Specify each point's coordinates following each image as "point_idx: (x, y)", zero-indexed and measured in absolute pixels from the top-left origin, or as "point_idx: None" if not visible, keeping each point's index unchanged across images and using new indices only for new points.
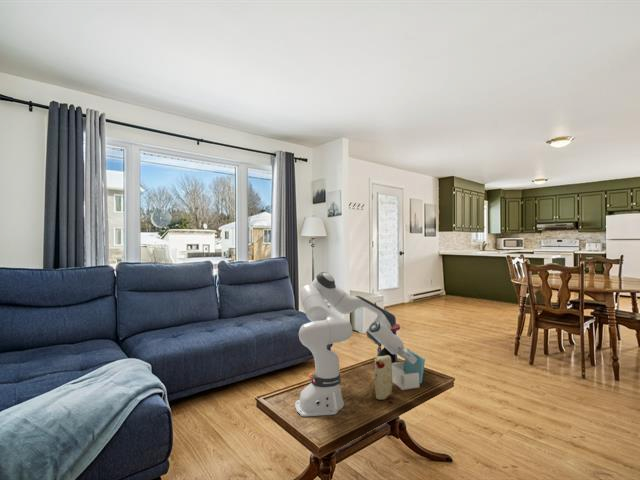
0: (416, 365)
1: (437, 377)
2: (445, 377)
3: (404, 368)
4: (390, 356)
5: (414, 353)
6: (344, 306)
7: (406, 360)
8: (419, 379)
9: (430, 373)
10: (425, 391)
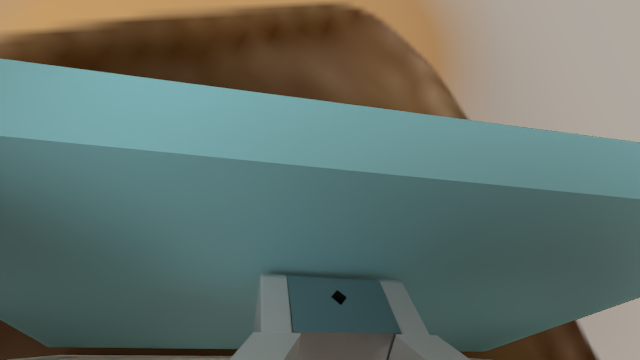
0: (463, 295)
1: (316, 64)
2: (339, 15)
3: (57, 337)
4: None
5: (349, 134)
6: None
7: (31, 291)
8: (493, 343)
9: (210, 56)
10: (556, 352)
